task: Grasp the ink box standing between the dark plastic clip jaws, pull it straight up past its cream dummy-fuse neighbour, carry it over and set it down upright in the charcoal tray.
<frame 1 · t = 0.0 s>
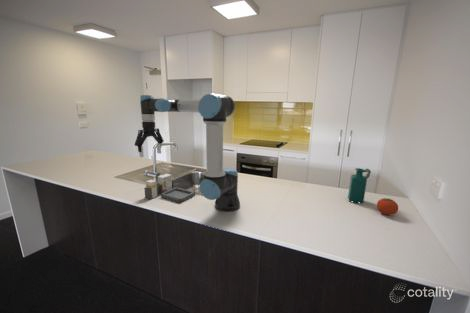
hand: (150, 155, 137), 28 cm above the worktop, fingers open, 13 cm apart
tray: (178, 196, 144), on the worktop
ink box: (165, 191, 152), on the worktop
tomato: (385, 214, 125), on the worktop
green bottle: (356, 201, 143), on the worktop
clip holder: (165, 191, 152), on the worktop
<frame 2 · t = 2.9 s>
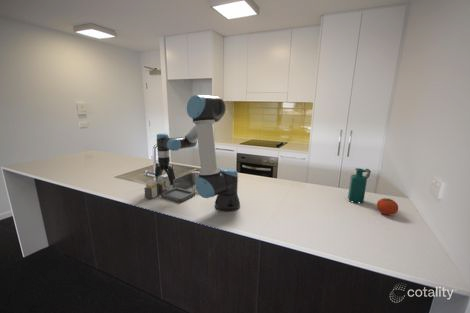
hand: (165, 187, 151), 3 cm above the worktop, fingers open, 9 cm apart
nothing on the worktop moved.
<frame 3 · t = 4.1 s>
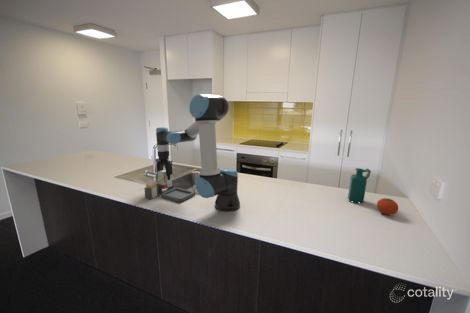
hand: (165, 183, 151), 6 cm above the worktop, fingers closed on ink box, 5 cm apart
ink box: (165, 187, 151), point 3 cm above the worktop, touching gripper
everything else where it was.
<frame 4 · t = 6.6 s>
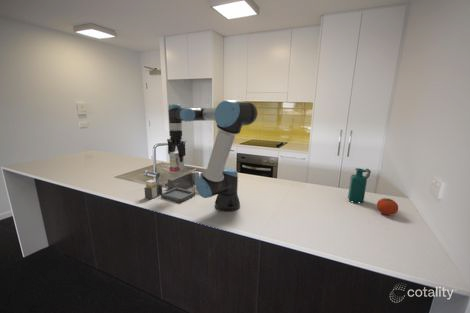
hand: (177, 166, 139), 21 cm above the worktop, fingers closed on ink box, 5 cm apart
ink box: (177, 170, 140), point 18 cm above the worktop, touching gripper
everything else where it was.
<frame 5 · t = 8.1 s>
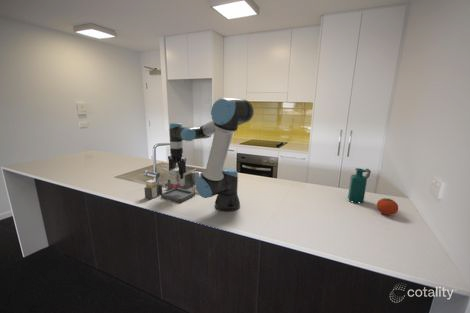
hand: (177, 182, 142), 10 cm above the worktop, fingers closed on ink box, 5 cm apart
ink box: (177, 186, 143), point 7 cm above the worktop, touching gripper
everything else where it was.
when the fingers open (3 cm above the worktop, at t = 9.5 s): ink box stays where it is, resting on tray.
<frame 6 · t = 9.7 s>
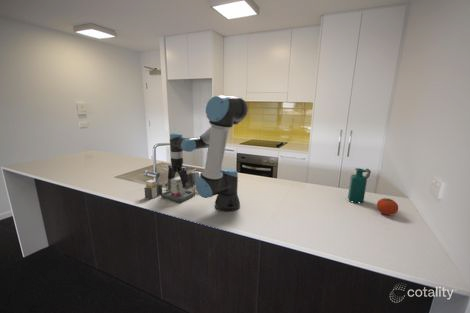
hand: (178, 191, 143), 4 cm above the worktop, fingers open, 8 cm apart
ink box: (178, 195, 144), point 1 cm above the worktop, touching tray
everything else where it was.
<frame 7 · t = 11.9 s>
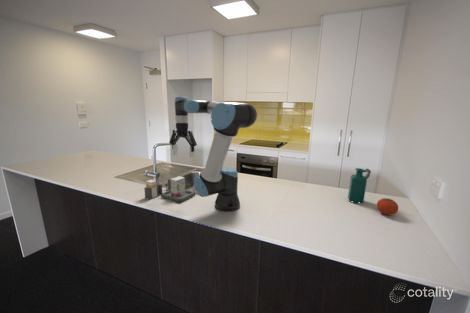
hand: (183, 155, 140), 27 cm above the worktop, fingers open, 13 cm apart
nothing on the worktop moved.
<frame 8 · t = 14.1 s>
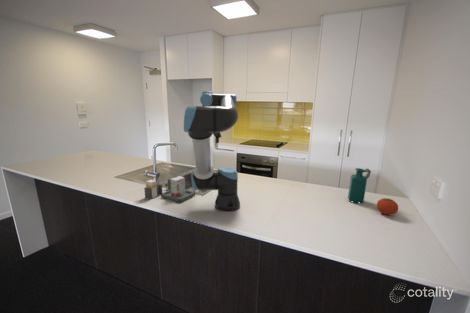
hand: (208, 146, 150), 32 cm above the worktop, fingers open, 13 cm apart
nothing on the worktop moved.
at the end: ink box inside the target area on the tray (0.0 cm from its centre), point 0.8 cm above the tray's base; ink box tilted 0°; the gripper is holding nothing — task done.
